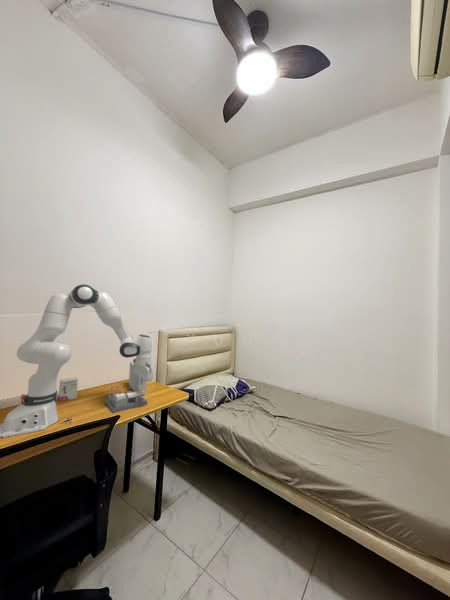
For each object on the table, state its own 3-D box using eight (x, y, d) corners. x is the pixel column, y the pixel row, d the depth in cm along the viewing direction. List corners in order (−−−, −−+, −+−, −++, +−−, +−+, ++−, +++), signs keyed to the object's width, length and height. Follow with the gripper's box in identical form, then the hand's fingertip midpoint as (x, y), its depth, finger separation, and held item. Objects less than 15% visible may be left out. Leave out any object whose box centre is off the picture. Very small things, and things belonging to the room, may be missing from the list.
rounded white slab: (148, 395, 155) (150, 369, 155) (137, 396, 151) (138, 370, 151) (138, 383, 177) (139, 360, 177) (128, 384, 173) (129, 361, 173)
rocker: (128, 398, 135) (128, 395, 135) (125, 396, 138) (125, 393, 138) (145, 394, 142) (145, 391, 142) (142, 392, 145) (142, 389, 145)
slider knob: (127, 398, 143) (127, 393, 143) (125, 396, 145) (125, 391, 145) (132, 396, 145) (132, 391, 145) (130, 395, 147) (130, 390, 147)
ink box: (60, 401, 139) (61, 381, 139) (58, 399, 142) (59, 379, 142) (76, 398, 145) (78, 378, 145) (74, 395, 148) (75, 376, 149)
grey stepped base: (113, 413, 127) (114, 402, 128) (105, 403, 138) (105, 393, 139) (147, 404, 140) (147, 394, 140) (137, 396, 151) (137, 387, 151)
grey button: (117, 406, 130) (117, 397, 130) (114, 403, 134) (114, 394, 134) (125, 404, 133) (125, 395, 133) (122, 401, 137) (122, 393, 137)
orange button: (112, 398, 136) (113, 389, 136) (110, 395, 139) (111, 387, 139) (120, 396, 139) (121, 387, 139) (118, 394, 142) (118, 385, 142)
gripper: (156, 364, 138) (155, 388, 138) (141, 357, 153) (140, 378, 153) (146, 366, 134) (145, 390, 134) (131, 358, 149) (131, 380, 149)
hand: (142, 384), depth 143 cm, fingers closed
